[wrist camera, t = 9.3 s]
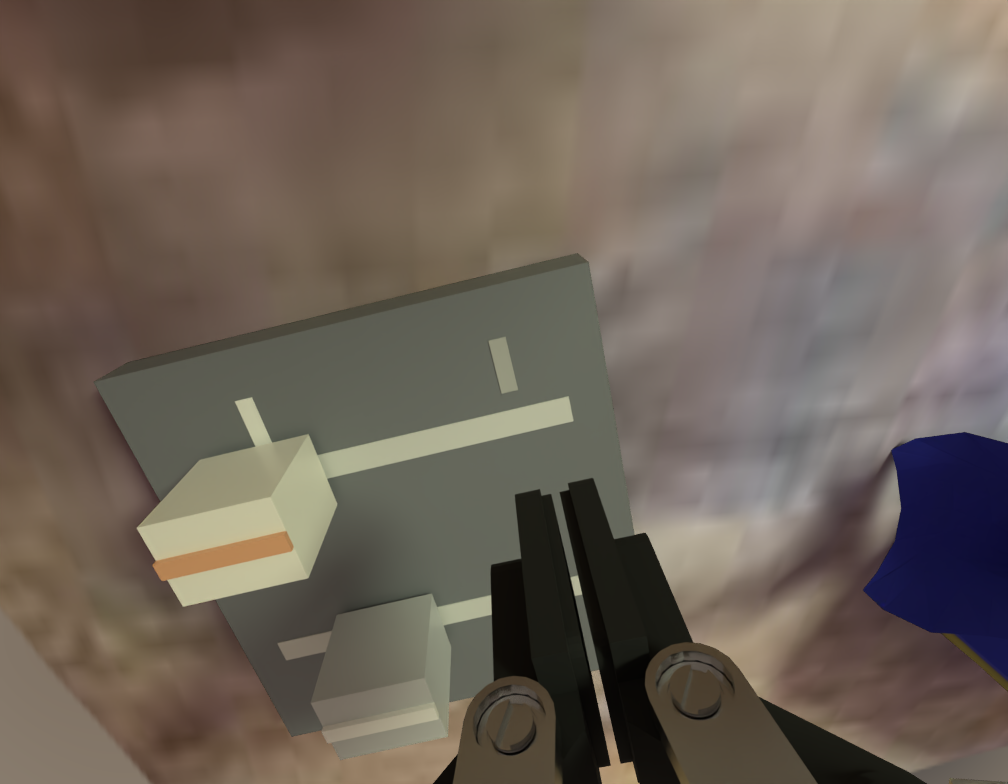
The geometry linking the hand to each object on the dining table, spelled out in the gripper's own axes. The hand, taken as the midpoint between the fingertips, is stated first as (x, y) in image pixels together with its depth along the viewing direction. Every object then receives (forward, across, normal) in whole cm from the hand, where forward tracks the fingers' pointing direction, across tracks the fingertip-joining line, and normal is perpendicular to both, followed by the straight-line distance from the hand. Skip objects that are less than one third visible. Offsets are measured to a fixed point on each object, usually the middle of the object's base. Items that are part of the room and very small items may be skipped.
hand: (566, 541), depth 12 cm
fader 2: (+8, +8, +9) cm, 14 cm away
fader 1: (+8, +10, +1) cm, 13 cm away
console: (+10, +6, +6) cm, 13 cm away
